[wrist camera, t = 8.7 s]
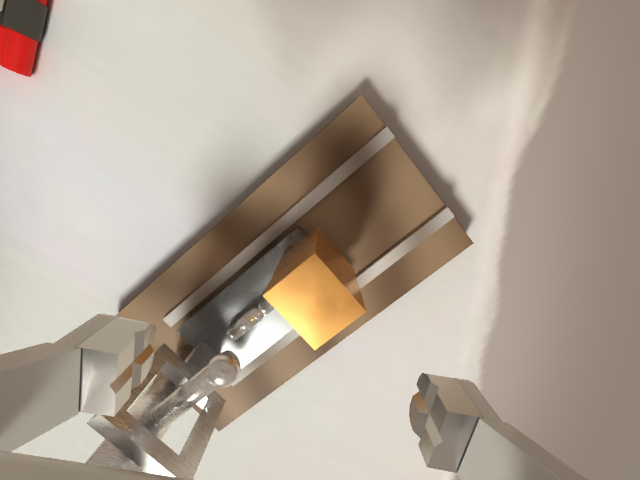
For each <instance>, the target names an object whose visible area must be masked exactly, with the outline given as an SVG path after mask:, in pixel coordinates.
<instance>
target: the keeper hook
mask: <svg viewBox="0 0 640 480" xmlns="http://www.w3.org/2000/svg"><path fill="white" fill-rule="evenodd" d="M193 349H194V347H192V346H191V345H185V346H182V347H180V348H179V349H178V350H177V351H176V354H177V355H178V356H179V357H180V358H181V359H182V360H183V361H185V360H186V358H187V357H188V355H189V354H190V353H191V351H192V350H193ZM240 371H241V364H240V360H239V358H238V357H237V355H236V354H235V353H234V352H232V351H230V350H226V351H224V352H222V353H219V354H217V355H215V356H214V357H213V358H212V359H211V360H210V362H209V363H208V365H207V366H205V367H204V368H203V369H202V370H200V371H199V372H198V373H197V374H195V375H194V376H193V377H192V378H190V379H189V380H188V381H187V382H185V383H184V384H183V385H182V386H180V387H178V386H176V385H175V384H174V383H173V382H172V381H171V380H170V379H169V378H168V377H167V376H166V375H164V374H163V373H162V372H161V371H160V372H159V373H158V375H157V376H156V377H155V378H154V380H153V381H152V382H151V383H150V385H149V386H148V387H147V388H146V389H145V391H144V392H143V393H142V394H141V396H140V397H139V398H138V399H137V401H136V402H135V403H134V404H133V405H132V407H131V408H130V409H129V410H128V413H129V414H131V415H132V416H133V417H134V418H135V419H136V420H138V421H139V422H140V423H141V424H142V425H143V426H145V427H146V428H147V429H148V430H149V431H150V432H152V433H153V434H154V435H155V436H156V437H157V438H159V439H160V440H161V439H162V438H163V436H164V434H165V433H166V431H167V429H168V428H169V426H170V424H171V423H172V422H174V421H175V420H176V419H177V418H179V417H180V416H181V415H183V414H184V413H185V412H187V411H188V410H189V409H190V408H192V407H193V406H194V405H196V404H197V403H198V402H199V401H201V400H202V399H203V398H205V397H206V396H207V395H208V394H210V393H211V392H212V391H214V390H215V389H216V388H218V387H219V388H225V387H228V386H230V385H232V384H233V383H234V382H235V381H236V380H237V379H238V377H239V375H240ZM85 464H92V465H98V466H105V467H112V468H118V469H125V470H132V471H138V472H142V471H143V469H142V468H141V467H139V466H138V465H137V464H136V463H135V462H133V461H132V460H131V459H130V458H128V457H127V456H126V455H125V454H124V453H122V452H121V451H120V450H119V449H118V448H116V447H115V446H114V445H113V444H111V443H110V442H109V441H108V440H107V439H105V440H104V441H103V442H102V444H101V445H100V446H99V447H98V448H97V450H96V451H95V452H94V453H93V455H92V456H91V457H90V458H89V460H88V461H87V462H86V463H85Z"/></svg>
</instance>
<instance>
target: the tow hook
mask: <svg viewBox="0 0 640 480" xmlns="http://www.w3.org/2000/svg"><path fill="white" fill-rule="evenodd" d="M46 5H47V0H0V65H1V66H3V67H4V68H7V69H9V70H11V71H14V72H16V73H19V74H22V75H25V76H29V77H31V73H32V68H33V64H34V59H35V55H36V50H37V46H38V42H40V41H41V39H42V34H43V30H44V25H45V21H46V16H47V12H48V8H47V7H46ZM2 25H3V26H2ZM4 26H5V27H4ZM6 27H7V28H6Z"/></svg>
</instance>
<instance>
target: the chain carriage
mask: <svg viewBox="0 0 640 480" xmlns="http://www.w3.org/2000/svg"><path fill="white" fill-rule="evenodd" d="M366 312H367V311H366V308H365V305H364V301H363V298H362V294H361V291H360V288H359V284H358V281H357V278H356V274H355V271H354V268H353V267H352V265H351V264H350V263H349V262H348V261H347V260H346V258H345V257H344V256H343V255H342V254H341V253H340V251H339V250H338V249H337V248H336V247H335V246H334V245H333V243H332V242H331V241H330V240H329V239H328V238H327V236H326V235H325V234H324V233H323V232H322V231H321V229H320V228H319V227H317V228H315V229H314V230H313V231H312V232H311V233H309V234H307V233H306V232H305V231H304V230H303V229H302V227H301V226H300V225H298V226H297V227H296V228H295V229H293V230H292V231H291V232H290V233H289V234H287V235H286V236H285V237H284V238H283V239H282V240H280V241H279V242H278V243H277V244H276V245H274V246H273V247H272V248H271V249H270V250H269V251H267V252H266V253H265V254H264V255H263V256H261V257H260V258H259V259H258V260H257V261H255V262H254V263H253V264H252V265H251V266H250V267H248V268H247V269H246V270H245V271H244V272H242V273H241V274H240V275H239V276H238V277H237V278H235V279H234V280H233V281H232V282H231V283H229V284H228V285H227V286H226V287H225V288H224V289H222V290H221V291H220V292H219V293H218V294H216V295H215V296H214V297H213V298H212V299H211V300H209V301H208V302H207V303H206V304H205V305H203V306H202V307H201V308H200V309H199V310H197V311H196V312H195V313H194V314H193V315H192V316H190V317H189V318H188V319H187V320H186V321H184V322H183V323H182V324H181V325H180V326H179V328H178V329H177V330H176V331H177V332H178V333H179V334H180V335H181V336H182V337H183V338H184V339H185V340H186V341H187V342H188V343H189V344H190V345H191V346H192V347H194V349H193V350H192V351H191V353H190V354H189V355H188V357H187V358H186V360H185V361H183V360H182V359H181V358H180V357H179V356H178V355H177V354H176V353H175V352H174V351H172V350H171V349H170V348H169V347H168V346H167V345H166V344H165V343H164V344H162V345H161V346H160V347H159V348H158V349H156V350H155V351H154V358H153V362H152V366H151V368H150V370H149V372H148V374H147V376H146V378H145V379H144V380H143V382H142V383H141V384H140V385H139V386H136V387H134V388H132V389H131V394H130V398H129V399H128V400H127V401H126V403H125V404H124V405H123V406H122V408H121V409H120V410H119V411H118V412H117V414H116V415H115V416H106V415H98V414H95V415H94V416H93V418H92V419H91V420H90V421H89V422H88V423H87V424H88V425H90V426H91V427H92V428H93V429H95V430H96V431H97V432H98V433H99V434H101V435H102V436H103V437H104V438H105V439H107V440H108V441H109V442H110V443H111V444H113V445H114V446H115V447H116V448H118V449H119V450H120V451H121V452H122V453H124V454H125V455H126V456H127V457H128V458H130V459H131V460H132V461H133V462H135V463H136V464H137V465H138V466H139V467H141V468H142V469H143V470H144V471H145V472H147V473H152V474H158V475H165V476H172V477H178V478H185V479H191V480H192V479H193V477H194V474H195V472H196V470H197V467H198V465H199V463H200V460H201V458H202V456H203V453H204V451H205V449H206V446H207V444H208V442H209V439H210V437H211V435H212V432H213V430H214V428H215V425H216V423H217V421H218V418H219V416H220V413H221V411H222V409H223V406H224V404H225V402H226V400H225V399H224V398H223V397H222V396H221V395H219V394H218V393H217V392H216V391H215V390H214V391H212V392H211V393H210V394H208V395H207V396H206V397H205V398H203V399H202V400H201V401H199V402H198V403H197V405H198V406H200V407H201V408H202V411H201V413H200V415H199V417H198V419H197V421H196V423H195V425H194V427H193V429H192V431H191V433H190V435H189V437H188V439H187V441H186V443H185V445H184V447H183V449H182V451H181V453H180V455H179V456H178V455H177V454H176V453H175V452H174V451H173V450H171V449H170V448H169V447H168V446H167V445H166V444H164V443H163V442H162V441H161V440H160V439H159V438H157V437H156V436H155V435H154V434H153V433H152V432H150V431H149V430H148V429H147V428H146V427H145V426H143V425H142V424H141V423H140V422H139V421H138V420H136V419H135V418H134V417H133V416H132V415H131V414H129V413H128V412H127V411H126V410H127V409H128V408H129V406H130V405H131V404H132V403H133V402H134V400H135V399H136V398H137V397H138V395H139V394H140V393H141V392H142V391H143V389H144V388H145V387H146V386H147V385H148V383H149V382H150V381H151V380H152V378H153V377H154V376H155V375H156V374H157V372H158V371H159V370H160V371H161V372H162V373H163V374H164V375H166V376H167V377H168V378H169V379H170V380H171V381H172V382H173V383H174V384H175V385H176V386H178V387H180V386H182V385H183V384H184V383H185V382H187V381H188V380H189V379H190V378H192V377H193V376H194V375H195V374H197V373H198V372H199V371H200V370H202V369H203V368H204V367H205V366H207V365H208V363H209V362H210V360H211V359H212V358H213V357H214V356H215V355H217V354H219V353H222V352H224V351H226V350H230V351H232V352H234V353H235V354H236V355H237V357H238V358H239V360H240V364H241V369H242V368H243V367H244V366H246V365H247V364H248V363H250V362H251V361H252V360H253V359H255V358H256V357H257V356H259V355H260V354H261V353H263V352H264V351H265V350H266V349H268V348H269V347H270V346H272V345H273V344H274V343H275V342H277V341H278V340H279V339H281V338H282V337H283V336H284V335H286V334H287V333H288V332H290V331H291V330H292V329H295V330H296V331H297V332H298V333H299V334H300V335H301V337H302V338H303V339H304V340H305V341H306V342H307V343H308V344H309V345H310V346H311V347H312V348H313V349H314V350H316V349H317V348H319V347H320V346H321V345H323V344H324V343H325V342H327V341H328V340H329V339H331V338H332V337H333V336H335V335H336V334H337V333H339V332H340V331H341V330H343V329H344V328H346V327H347V326H348V325H350V324H351V323H352V322H354V321H355V320H356V319H358V318H359V317H360V316H362V315H363V314H364V313H366Z"/></svg>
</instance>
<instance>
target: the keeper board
mask: <svg viewBox="0 0 640 480" xmlns="http://www.w3.org/2000/svg"><path fill="white" fill-rule="evenodd" d="M394 137H395V136H394V135H393V134H392V132H391V131H390V130H389V128H388V127H386V126H385V125H384V124H383V122H382V121H381V120H380V118H379V117H378V116H377V114H376V113H375V112H374V110H373V109H372V108H371V107H370V105H369V104H368V103H367V101H366V100H365V99H364V97H363V96H362V95H361V96H360V97H359V98H358V99H356V100H355V101H354V102H353V103H352V104H351V105H350V106H349V107H347V108H346V109H345V110H344V111H343V112H342V113H341V114H340V115H339V116H337V117H336V118H335V119H334V120H333V121H332V122H331V123H330V124H329V125H327V126H326V127H325V128H324V129H323V130H322V131H321V132H320V133H319V134H317V135H316V136H315V137H314V138H313V139H312V140H311V141H310V142H308V143H307V144H306V145H305V146H304V147H303V148H302V149H301V150H300V151H298V152H297V153H296V154H295V155H294V156H293V157H292V158H291V159H290V160H288V161H287V162H286V163H285V164H284V165H283V166H282V167H281V168H280V169H278V170H277V171H276V172H275V173H274V174H273V175H272V176H271V177H270V178H268V179H267V180H266V181H265V182H264V183H263V184H262V185H261V186H259V187H258V188H257V189H256V190H255V191H254V192H253V193H252V194H251V195H249V196H248V197H247V198H246V199H245V200H244V201H243V202H242V203H241V204H239V205H238V206H237V207H236V208H235V209H234V210H233V211H232V212H231V213H229V214H228V215H227V216H226V217H225V218H224V219H223V220H222V221H220V222H219V223H218V224H217V225H216V226H215V227H214V228H213V229H212V230H210V231H209V232H208V233H207V234H206V235H205V236H204V237H203V238H202V239H200V240H199V241H198V242H197V243H196V244H195V245H194V246H193V247H192V248H190V249H189V250H188V251H187V252H186V253H185V254H184V255H183V256H182V257H180V258H179V259H178V260H177V261H176V262H175V263H174V264H173V265H171V266H170V267H169V268H168V269H167V270H166V271H165V272H164V273H163V274H161V275H160V276H159V277H158V278H157V279H156V280H155V281H154V282H153V283H151V284H150V285H149V286H148V287H147V288H146V289H145V290H144V291H143V292H141V293H140V294H139V295H138V296H137V297H136V298H135V299H134V300H132V301H131V302H130V303H129V304H128V305H127V306H126V307H125V308H124V309H122V310H121V311H120V312H119V313H118V314H117V315H116V316H118V317H123V318H128V319H133V320H138V321H143V322H147V323H152V324H154V325H155V326H156V338H155V339H154V340H153V341H152V342H151V343H150V345H151V346H152V348H153V350H154V351H155V350H156V349H158V348H159V347H160V346H161V345H162V344H164V343H165V344H166V345H167V346H168V347H169V348H170V349H171V350H172V351H174V352H175V353H176V351H177V350H178V349H179V348H180V347H182V346H185V345H190V344H189V343H188V342H187V341H186V340H185V339H184V338H183V337H182V336H181V335H180V334H179V333H178V332H177V331H176V330H177V329H178V328H179V326H180V325H181V324H182V323H183V322H184V321H186V320H187V319H188V318H189V317H190V316H192V315H193V314H194V313H195V312H196V311H197V310H199V309H200V308H201V307H202V306H203V305H205V304H206V303H207V302H208V301H209V300H211V299H212V298H213V297H214V296H215V295H216V294H218V293H219V292H220V291H221V290H222V289H224V288H225V287H226V286H227V285H228V284H229V283H231V282H232V281H233V280H234V279H235V278H237V277H238V276H239V275H240V274H241V273H242V272H244V271H245V270H246V269H247V268H248V267H250V266H251V265H252V264H253V263H254V262H255V261H257V260H258V259H259V258H260V257H261V256H263V255H264V254H265V253H266V252H267V251H269V250H270V249H271V248H272V247H273V246H274V245H276V244H277V243H278V242H279V241H280V240H282V239H283V238H284V237H285V236H286V235H287V234H289V233H290V232H291V231H292V230H293V229H295V228H296V227H297V226H298V225H300V226H301V227H302V229H303V230H304V231H305V232H306V233H307V234H309V233H311V232H312V231H313V230H314V229H315V228H317V227H319V228H320V229H321V231H322V232H323V233H324V234H325V235H326V236H327V238H328V239H329V240H330V241H331V242H332V243H333V245H334V246H335V247H336V248H337V249H338V250H339V251H340V253H341V254H342V255H343V256H344V257H345V258H346V260H347V261H348V262H349V263H350V264H351V265H352V267H353V268H354V271H355V274H356V278H357V281H358V284H359V288H360V291H361V294H362V298H363V301H364V305H365V308H366V311H367V312H366V313H364V314H363V315H362V316H360V317H359V318H358V319H356V320H355V321H354V322H352V323H351V324H350V325H348V326H347V327H346V328H344V329H343V330H341V331H340V332H339V333H337V334H336V335H335V336H333V337H332V338H331V339H329V340H328V341H327V342H325V343H324V344H323V345H321V346H320V347H319V348H317V349H316V350H314V349H313V348H312V347H311V346H310V345H309V344H308V343H307V342H306V341H305V340H304V339H303V338H302V337H301V335H300V334H299V333H298V332H297V331H296V330H295V329H292V330H291V331H290V332H288V333H287V334H286V335H284V336H283V337H282V338H281V339H279V340H278V341H277V342H275V343H274V344H273V345H272V346H270V347H269V348H268V349H266V350H265V351H264V352H263V353H261V354H260V355H259V356H257V357H256V358H255V359H253V360H252V361H251V362H250V363H248V364H247V365H246V366H244V367H243V368H242V369H241V371H240V375H239V377H238V379H237V380H236V381H235V382H234V383H233V384H232V385H230V386H228V387H225V388H219V387H218V388H216V389H215V391H216V392H217V393H218V394H219V395H221V396H222V397H223V398H224V399H225V400H226V402H225V404H224V406H223V409H222V411H221V413H220V416H219V418H218V421H217V423H216V425H215V428H216V429H217V430H218V431H220V430H222V429H223V428H224V427H226V426H227V425H228V424H230V423H231V422H232V421H234V420H235V419H236V418H238V417H239V416H240V415H242V414H243V413H245V412H246V411H247V410H249V409H250V408H251V407H253V406H254V405H255V404H257V403H258V402H259V401H261V400H262V399H263V398H265V397H266V396H268V395H269V394H270V393H272V392H273V391H274V390H276V389H277V388H278V387H280V386H281V385H282V384H284V383H285V382H286V381H288V380H289V379H291V378H292V377H293V376H295V375H296V374H297V373H299V372H300V371H301V370H303V369H304V368H305V367H307V366H308V365H309V364H311V363H312V362H314V361H315V360H316V359H318V358H319V357H320V356H322V355H323V354H324V353H326V352H327V351H328V350H330V349H331V348H332V347H334V346H335V345H337V344H338V343H339V342H341V341H342V340H343V339H345V338H346V337H347V336H349V335H350V334H351V333H353V332H354V331H355V330H357V329H358V328H359V327H361V326H362V325H364V324H365V323H366V322H368V321H369V320H370V319H372V318H373V317H374V316H376V315H377V314H378V313H380V312H381V311H382V310H384V309H385V308H387V307H388V306H389V305H391V304H392V303H393V302H395V301H396V300H397V299H399V298H400V297H401V296H403V295H404V294H405V293H407V292H408V291H410V290H411V289H412V288H414V287H415V286H416V285H418V284H419V283H420V282H422V281H423V280H424V279H426V278H427V277H428V276H430V275H431V274H433V273H434V272H435V271H437V270H438V269H439V268H441V267H442V266H443V265H445V264H446V263H447V262H449V261H450V260H451V259H453V258H454V257H456V256H457V255H458V254H460V253H461V252H462V251H464V250H465V249H466V248H468V247H469V246H470V245H472V244H473V242H472V240H471V239H470V238H469V236H468V235H467V234H466V232H465V231H464V230H463V228H462V227H461V226H460V224H459V223H458V222H457V220H456V219H455V218H454V217H455V216H454V215H453V213H452V212H451V211H450V209H449V208H448V207H446V206H445V205H444V203H443V202H442V201H441V199H440V198H439V197H438V195H437V194H436V193H435V191H434V190H433V189H432V187H431V186H430V185H429V183H428V182H427V181H426V179H425V178H424V177H423V175H422V174H421V173H420V171H419V170H418V169H417V167H416V166H415V165H414V164H413V162H412V161H411V160H410V158H409V157H408V156H407V154H406V153H405V152H404V150H403V149H402V148H401V146H400V145H399V144H398V142H397V141H396V140H395V138H394ZM159 372H160V370H159V371H158V372H157V374H156V375H158V373H159ZM193 408H194V409H195V410H196V411H197V412H198V413H199V414H200V413H201V411H202V408H201V407H200V406H198V405H197V404H196V405H194V406H193Z"/></svg>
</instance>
